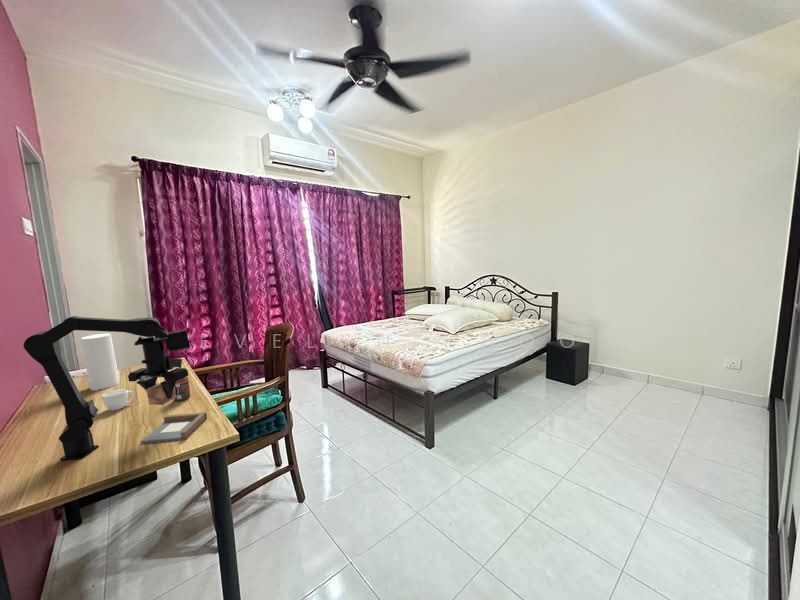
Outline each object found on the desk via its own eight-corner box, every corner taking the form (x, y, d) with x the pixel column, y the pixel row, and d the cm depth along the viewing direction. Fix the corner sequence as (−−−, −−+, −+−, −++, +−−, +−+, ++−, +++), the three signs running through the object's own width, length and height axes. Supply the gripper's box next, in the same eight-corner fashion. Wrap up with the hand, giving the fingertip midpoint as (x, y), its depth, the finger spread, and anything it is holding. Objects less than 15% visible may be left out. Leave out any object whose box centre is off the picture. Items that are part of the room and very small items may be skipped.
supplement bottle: (182, 402, 137) (178, 376, 136) (170, 401, 138) (166, 375, 137) (194, 395, 143) (190, 371, 141) (182, 395, 144) (178, 370, 143)
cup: (103, 409, 134) (100, 393, 133) (134, 400, 141) (131, 385, 140) (106, 414, 129) (103, 398, 128) (138, 405, 136) (135, 389, 135)
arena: (186, 439, 108) (185, 432, 107) (141, 443, 107) (139, 436, 106) (207, 418, 122) (206, 412, 121) (167, 421, 120) (166, 415, 120)
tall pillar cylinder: (125, 381, 165) (116, 333, 161) (103, 390, 154) (93, 338, 151) (106, 381, 166) (98, 333, 163) (84, 390, 156) (74, 339, 152)
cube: (176, 397, 116) (174, 382, 115) (162, 404, 111) (160, 389, 110) (163, 397, 117) (160, 382, 116) (149, 404, 112) (146, 389, 111)
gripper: (197, 347, 117) (203, 388, 120) (153, 347, 121) (160, 388, 123) (170, 357, 106) (178, 402, 109) (122, 357, 110) (131, 401, 112)
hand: (162, 398), depth 114 cm, fingers closed on cube, 5 cm apart
